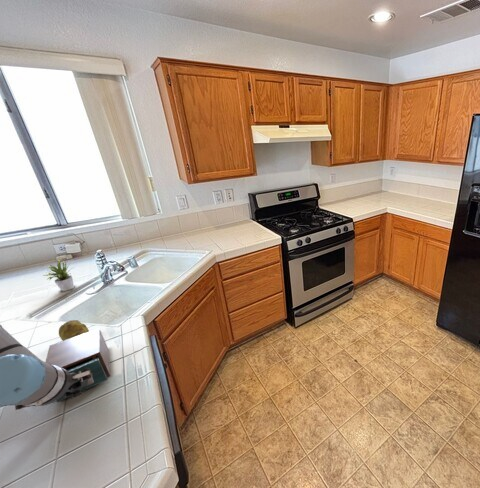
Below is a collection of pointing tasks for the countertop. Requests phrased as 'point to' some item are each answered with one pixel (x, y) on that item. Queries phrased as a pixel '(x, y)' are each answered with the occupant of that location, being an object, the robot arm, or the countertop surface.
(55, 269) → the house plant
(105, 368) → the cabinet
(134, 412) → the countertop surface
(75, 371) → the drawer
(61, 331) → the potato
